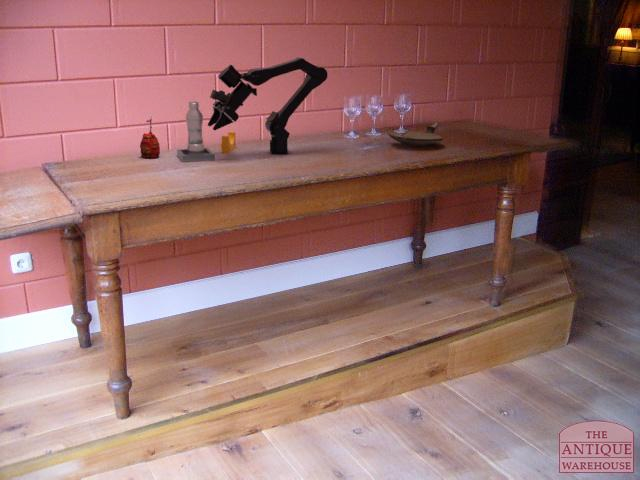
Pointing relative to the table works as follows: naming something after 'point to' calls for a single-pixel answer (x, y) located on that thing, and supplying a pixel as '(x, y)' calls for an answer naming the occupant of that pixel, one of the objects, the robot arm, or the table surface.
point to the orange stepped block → (228, 142)
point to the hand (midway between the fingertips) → (211, 127)
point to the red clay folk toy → (149, 144)
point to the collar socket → (195, 155)
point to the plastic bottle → (194, 129)
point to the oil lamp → (418, 137)
